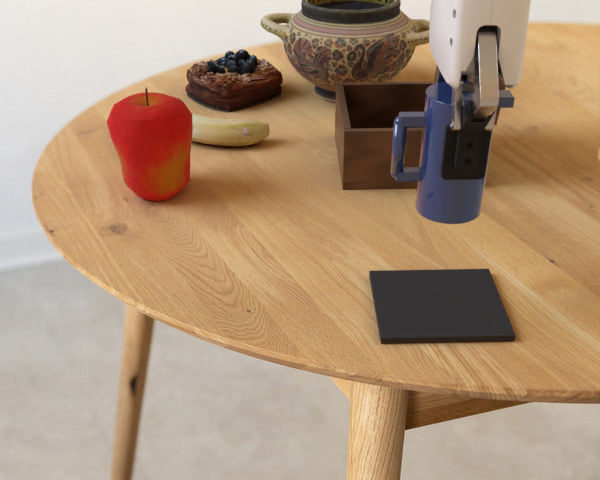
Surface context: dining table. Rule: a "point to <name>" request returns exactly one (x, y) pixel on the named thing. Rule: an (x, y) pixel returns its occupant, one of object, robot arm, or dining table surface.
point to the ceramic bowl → (347, 41)
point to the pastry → (233, 82)
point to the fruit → (228, 131)
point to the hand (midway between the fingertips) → (454, 157)
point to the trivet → (439, 306)
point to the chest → (375, 131)
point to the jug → (439, 159)
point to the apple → (152, 143)
